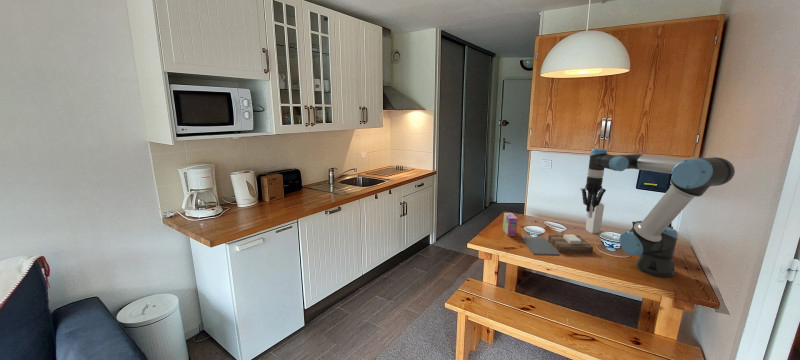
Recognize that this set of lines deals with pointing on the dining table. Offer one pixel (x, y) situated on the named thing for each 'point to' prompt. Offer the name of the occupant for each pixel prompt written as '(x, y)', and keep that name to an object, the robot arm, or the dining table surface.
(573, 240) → the tile
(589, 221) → the milk
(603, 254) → the dining table surface
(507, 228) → the box
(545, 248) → the mat
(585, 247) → the deck
